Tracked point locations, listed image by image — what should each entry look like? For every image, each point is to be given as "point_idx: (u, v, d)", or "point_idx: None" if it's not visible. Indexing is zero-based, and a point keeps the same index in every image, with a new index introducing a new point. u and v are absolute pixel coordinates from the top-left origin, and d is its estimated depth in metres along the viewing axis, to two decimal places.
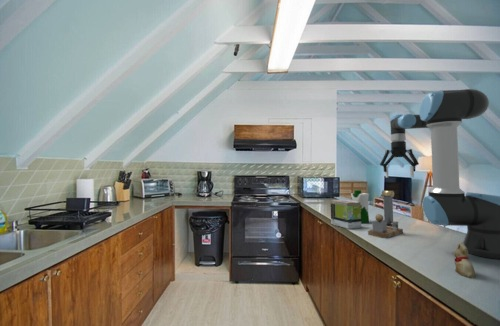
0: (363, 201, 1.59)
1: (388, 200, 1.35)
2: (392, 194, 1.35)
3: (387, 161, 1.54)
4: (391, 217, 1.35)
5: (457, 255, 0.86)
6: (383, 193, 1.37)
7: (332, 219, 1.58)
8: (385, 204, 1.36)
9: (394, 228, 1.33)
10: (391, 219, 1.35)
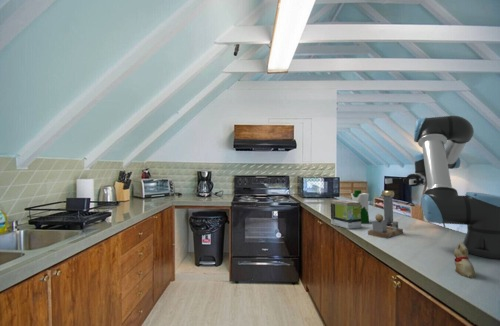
0: (363, 201, 1.59)
1: (388, 200, 1.35)
2: (392, 194, 1.35)
3: (394, 178, 1.54)
4: (391, 217, 1.35)
5: (457, 255, 0.86)
6: (383, 193, 1.37)
7: (332, 219, 1.58)
8: (385, 204, 1.36)
9: (394, 228, 1.33)
10: (391, 219, 1.35)
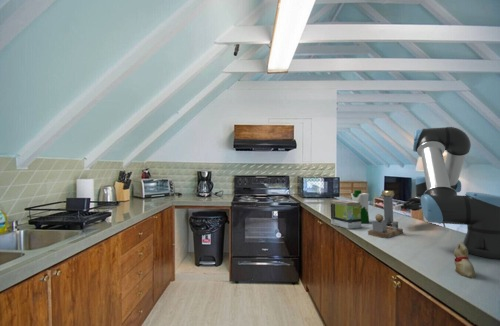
0: (363, 201, 1.59)
1: (388, 200, 1.35)
2: (392, 194, 1.35)
3: (401, 204, 1.49)
4: (391, 217, 1.35)
5: (457, 255, 0.86)
6: (383, 193, 1.37)
7: (332, 219, 1.58)
8: (385, 204, 1.36)
9: (394, 228, 1.33)
10: (391, 219, 1.35)
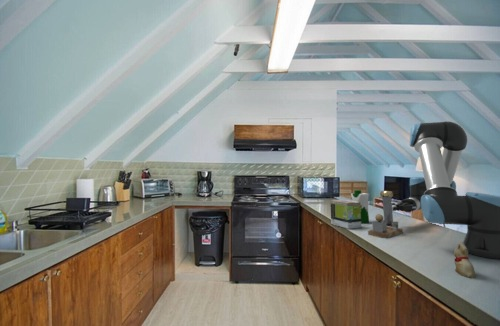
0: (363, 201, 1.59)
1: (387, 201, 1.34)
2: (391, 194, 1.34)
3: (394, 205, 1.45)
4: (391, 217, 1.35)
5: (457, 255, 0.86)
6: (381, 194, 1.36)
7: (332, 219, 1.58)
8: (384, 205, 1.36)
9: (394, 228, 1.33)
10: (391, 219, 1.35)
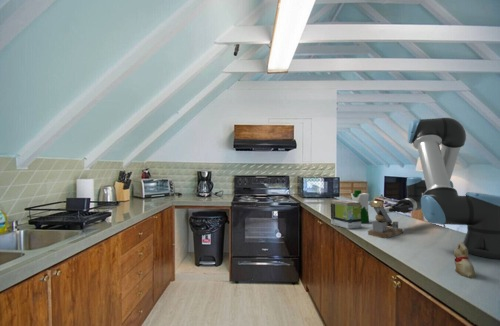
0: (363, 201, 1.59)
1: (380, 211, 1.30)
2: (381, 205, 1.28)
3: (390, 206, 1.42)
4: (388, 220, 1.34)
5: (457, 255, 0.86)
6: (372, 206, 1.31)
7: (332, 219, 1.58)
8: (378, 213, 1.32)
9: (394, 228, 1.33)
10: (389, 221, 1.34)
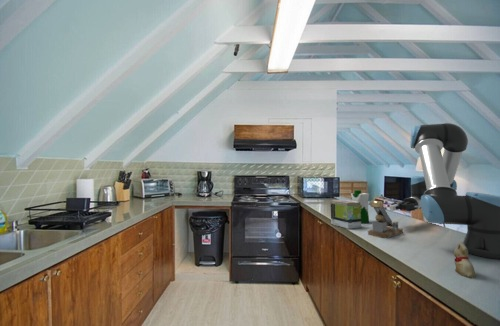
0: (363, 201, 1.59)
1: (380, 211, 1.30)
2: (381, 205, 1.28)
3: (396, 204, 1.46)
4: (388, 220, 1.34)
5: (457, 255, 0.86)
6: (372, 206, 1.31)
7: (332, 219, 1.58)
8: (378, 213, 1.32)
9: (394, 228, 1.33)
10: (389, 221, 1.34)
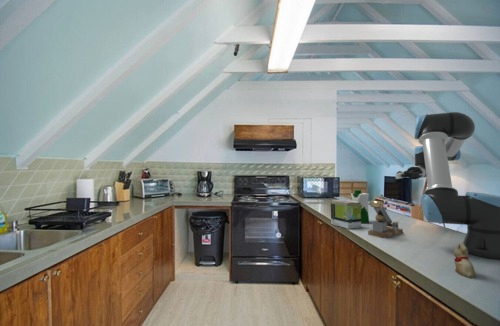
0: (363, 201, 1.59)
1: (380, 211, 1.30)
2: (381, 205, 1.28)
3: (401, 172, 1.48)
4: (388, 220, 1.34)
5: (457, 255, 0.86)
6: (372, 206, 1.31)
7: (332, 219, 1.58)
8: (378, 213, 1.32)
9: (394, 228, 1.33)
10: (389, 221, 1.34)
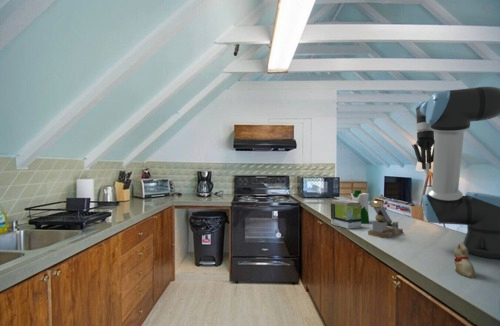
0: (363, 201, 1.59)
1: (380, 211, 1.30)
2: (381, 205, 1.28)
3: (423, 157, 1.38)
4: (388, 220, 1.34)
5: (457, 255, 0.86)
6: (372, 206, 1.31)
7: (332, 219, 1.58)
8: (378, 213, 1.32)
9: (394, 228, 1.33)
10: (389, 221, 1.34)
